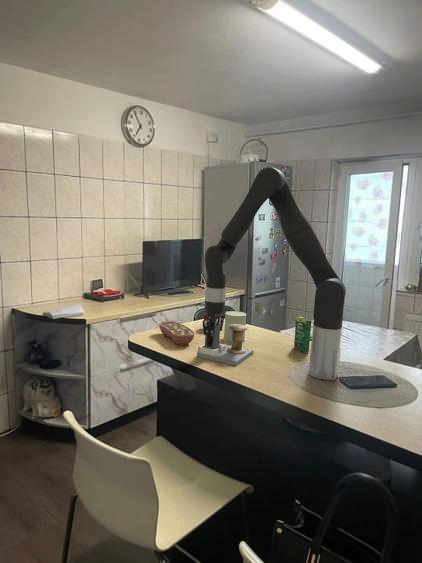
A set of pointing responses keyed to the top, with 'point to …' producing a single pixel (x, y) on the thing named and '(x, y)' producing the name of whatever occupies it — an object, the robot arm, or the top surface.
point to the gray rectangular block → (214, 339)
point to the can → (233, 318)
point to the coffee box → (302, 334)
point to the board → (223, 354)
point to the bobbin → (237, 339)
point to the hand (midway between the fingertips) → (212, 344)
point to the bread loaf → (177, 332)
